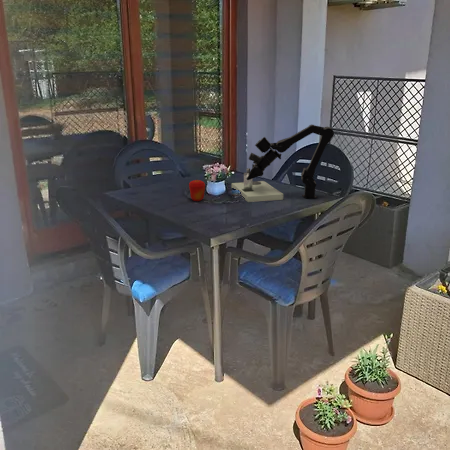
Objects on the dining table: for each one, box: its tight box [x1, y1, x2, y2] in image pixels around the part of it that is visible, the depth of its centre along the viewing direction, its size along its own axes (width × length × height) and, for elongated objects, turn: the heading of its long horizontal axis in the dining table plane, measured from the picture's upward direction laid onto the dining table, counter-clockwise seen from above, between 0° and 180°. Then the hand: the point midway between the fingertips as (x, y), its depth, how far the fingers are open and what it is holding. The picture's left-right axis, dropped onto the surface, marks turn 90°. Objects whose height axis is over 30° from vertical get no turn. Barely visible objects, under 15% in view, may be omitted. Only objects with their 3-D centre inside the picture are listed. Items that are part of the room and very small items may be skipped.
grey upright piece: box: [243, 167, 254, 191], centre depth 270 cm, size 5×5×12 cm
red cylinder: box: [188, 179, 206, 202], centre depth 262 cm, size 9×8×12 cm
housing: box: [231, 180, 284, 203], centre depth 276 cm, size 30×20×3 cm, turn 16°
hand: (247, 178), depth 270 cm, fingers closed on grey upright piece, 5 cm apart
